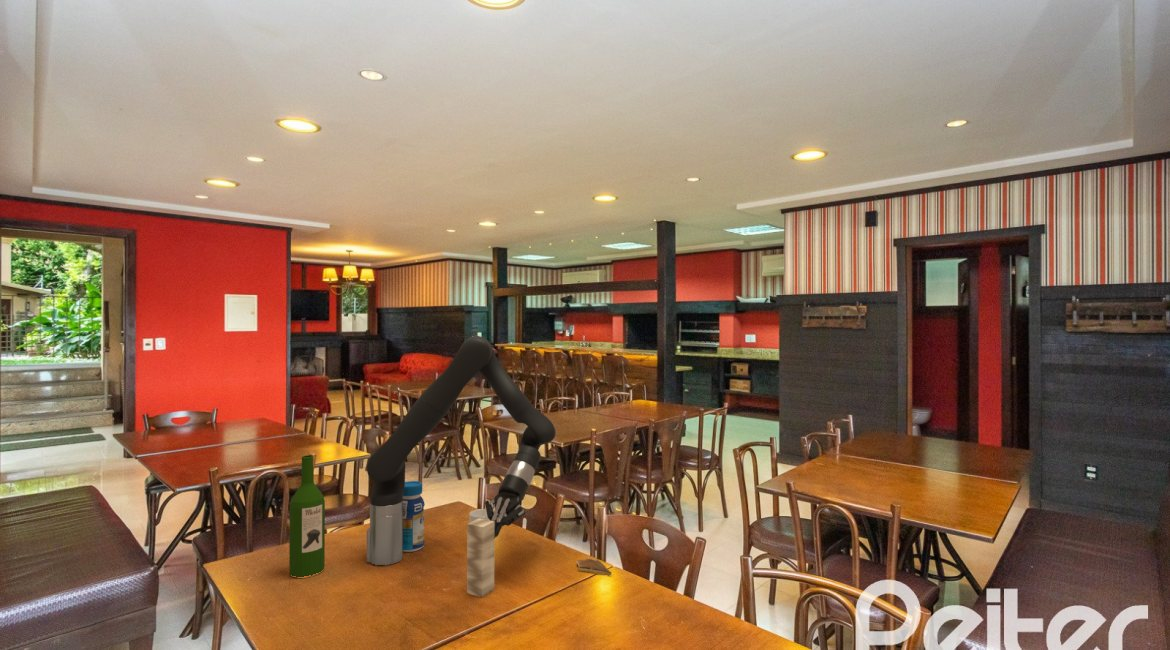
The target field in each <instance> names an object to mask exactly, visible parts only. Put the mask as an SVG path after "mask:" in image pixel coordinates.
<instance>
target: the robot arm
mask: <svg viewBox="0 0 1170 650" xmlns="http://www.w3.org/2000/svg"><path fill="white" fill-rule="evenodd" d="M478 373H480V374H481V376H483V377H484V379H485V380H486V381H487V383H488V384H489V386H490V387H491V389H492V390H493V392H494V393H495V395H496V397H497V399H498V400H499V401H500V403H501V405H502V406H503V408H505V410H506V412H508V414H509V415H510V417H511V418H512V419H513V420H514V421H515V422H516V423H517V424H522V425H523V424H524V425H526V426H527V427H525V429H524V431H523V432H522V435H521V439H520V443H519V449H518V451H517V453H516V455H515V457H514V459H513V461H512V463H511V464H510V466H509V468H508V469H507V472H506V473H505V476H504V477H503V479H502V482H501V484H500V486H499V489H498V492H497V494H496V495H495V496H494V498H493V499H492V500H488V499H487V500H485V502H484V504H485V505H484V506H485V509H486V512H487V517H488V519H489V520H490V521H495V522H494V540H495V539H496V538H497V537H498V536H499V534H500V532H501V530H502V528H503V527H505V526H510V525H512V524H513V523H514V522H516V521H518V520H519V519H520V518H522V517H524V515H526V511H525V510H524V508H523V507H522V503H523V502H522V501H523V500H524V499H525V497H526V494H527V493H528V490H529V488H530V486H531V484H532V481H533V478H534V475H535V473H536V471H537V468H538V465H539V463H540V461H541V457H542V454H541V453H540V450H539V449H540V448H541V447H542V445H546V444H549V443H551V442H552V441H554V440H555V437H556V428H555V426H554V424H553V422H552V421H551V419H550V418H549V417H548V416H546V415H545V414H543V413H542V412H541V411H540V410H539V409H538V408H536V406H533V404H532V403H531V401H530V399H529V398H528V397H527V396H526V395H525V394H524V393H523V391H522V390H521V389H520V388H519V386H518V385H517V384H516V383H515V381H514V380H513V379H512V378H511V376H510V375H509V374H508V372H507V371H506V370H505V369H504V367H503V366H502V364H501V362H500V361H499V359H498V357H497V355H496V354H495V352H494V350H493V347H492V344H491V343H490V341H489V340H488V339H486V338H485V337H483V336H480V335H472V336H471V337H469V338H468V337H467V339H466V340H465V341H464V342H463V343H462V344H461V346H460V348H459V349H458V352H457V353H456V355H455V356H454V357H453V359H452V360H451V362H450V364H449V365H448V367H446V369H445V370H444V371H443V372H442V373H441V374H440V375H439V376H438V377H437V378H436V379H435V380H434V381H433V382H431V384H430V385H428V386H427V388H426V389H425V390H424V391H423V392H422V393H421V395H419V397H418V398H417V400H416V401H415V402H414V403H413V404H412V406H411V407H410V409H409V410H408V411H407V413H406V414H405V416H404V417H403V418H402V420H401V421H400V423H399V424H398V426H397V428H396V429H395V430H394V432H393V433H392V434H391V435H390V436H389V437H388V439H387V440H386V441H384V443H383V444H382V445H381V446H380V447H379V448H378V449H377V450H376V451H374V452H373V453H372V454H371V455H370V457H369V458H368V461H367V464H366V472H367V475H368V477H369V479H371V480H372V481H373V483H372V488H371V491H370V495H369V528H368V529H366V563H367V562H371V563H372V565H373V564H375V565H374V566H377V565H385V566H391V565H394V563H395V564H397V563H399V562H401V561H402V560H403V556H404V555H403V553H404V552H403V492H404V487H405V482H406V459H407V458H408V456H409V455H410V453H411V452H412V451H413V449H414V448H415V447H416V446H417V445H418V444H419V443H421V442H422V441H423V440H424V439H425V438H426V437H427V436H428V435H429V434H430V433H431V432H432V431H433V430H434V429H435V428H436V427H437V426H438V425H439V424H440V423H441V421H442V420H443V419H444V417H446V415H447V414H448V412H449V411H450V409H451V408H452V407H453V406H454V404H455V402H456V401H457V400H458V397H459V396H460V394H461V392H462V391H463V390H464V388H465V387H466V386H467V384H469V382H470V381H471V380H472V379H473V378H474V377H475V376H476V375H477V374H478ZM371 563H370V564H371ZM390 564H391V565H390Z"/></svg>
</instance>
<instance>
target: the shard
mask: <svg viewBox="0 0 1170 650" xmlns="http://www.w3.org/2000/svg"><path fill="white" fill-rule="evenodd" d="M575 562H576V564H577V565H578V567H577V571H578V572H585V573H591V574H594V575H598V576H599V575H600V576H605V575H608V576H607V577H610V576H609V575H611V576H612V573H613V572H612V571H610V570H609V569H608V568H607V567H606V565H604V563H603V562H602V561H600V560H599V559H596V558H585V559H578V560H576V561H575Z"/></svg>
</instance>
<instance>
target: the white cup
mask: <svg viewBox="0 0 1170 650" xmlns="http://www.w3.org/2000/svg"><path fill="white" fill-rule="evenodd" d="M468 515H469V517H468V518H469V519H468V520H469V523H470V522H473V521H475V520H477V519H479V518H480V519H485V520H489V519H488V517H487V512H486V508H480V509H479V508H478V509H474V510H472V511H470V512H469V513H468Z"/></svg>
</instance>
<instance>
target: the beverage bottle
mask: <svg viewBox="0 0 1170 650" xmlns="http://www.w3.org/2000/svg"><path fill="white" fill-rule="evenodd" d="M422 494H423V483H422V482H421V481H419V480H409V481H405V487H404V492H403V553H404V552H405V553H410V552H412V553H413V552H416V551H419V550H422V549H423V548H424V547H425V515H426V511H425V500H424V498H423V497H422Z"/></svg>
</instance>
